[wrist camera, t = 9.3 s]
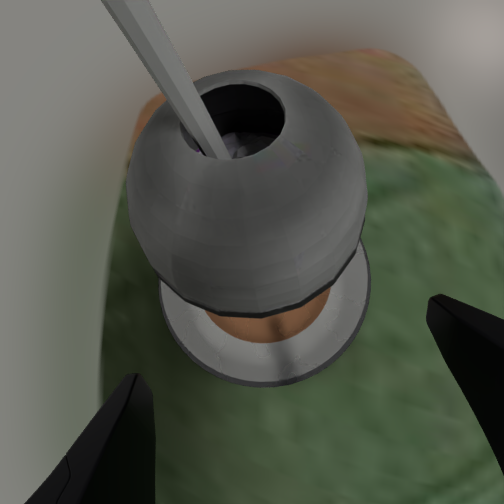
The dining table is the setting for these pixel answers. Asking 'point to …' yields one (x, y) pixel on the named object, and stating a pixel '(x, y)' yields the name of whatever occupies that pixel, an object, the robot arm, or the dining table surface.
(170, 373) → the dining table surface
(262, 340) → the disc
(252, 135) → the beverage cup
